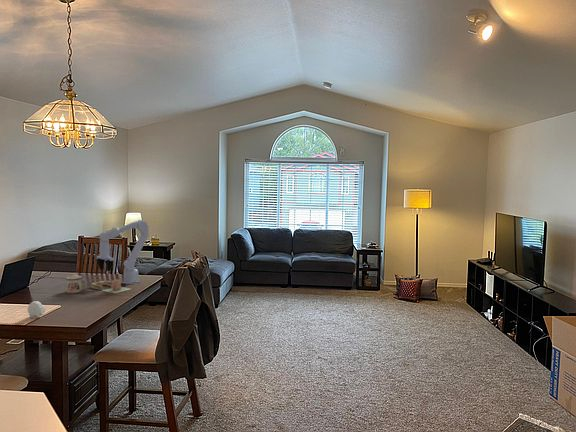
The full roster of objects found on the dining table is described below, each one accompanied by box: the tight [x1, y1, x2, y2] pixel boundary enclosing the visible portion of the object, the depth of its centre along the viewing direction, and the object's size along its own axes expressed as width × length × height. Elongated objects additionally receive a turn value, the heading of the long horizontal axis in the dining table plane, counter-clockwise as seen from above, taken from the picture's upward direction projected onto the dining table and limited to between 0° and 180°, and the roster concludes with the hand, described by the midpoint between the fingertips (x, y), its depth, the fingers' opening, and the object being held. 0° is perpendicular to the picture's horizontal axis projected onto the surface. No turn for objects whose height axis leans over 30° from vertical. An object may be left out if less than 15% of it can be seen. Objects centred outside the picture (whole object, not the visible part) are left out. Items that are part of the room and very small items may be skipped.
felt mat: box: [101, 286, 132, 294], centre depth 294 cm, size 13×13×1 cm
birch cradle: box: [89, 280, 113, 291], centre depth 302 cm, size 12×12×2 cm
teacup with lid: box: [65, 272, 88, 294], centre depth 290 cm, size 12×9×12 cm
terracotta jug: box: [110, 278, 122, 291], centre depth 293 cm, size 7×5×6 cm
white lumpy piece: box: [27, 300, 46, 319], centre depth 239 cm, size 6×8×12 cm
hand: (105, 270), depth 308 cm, fingers open, 7 cm apart
